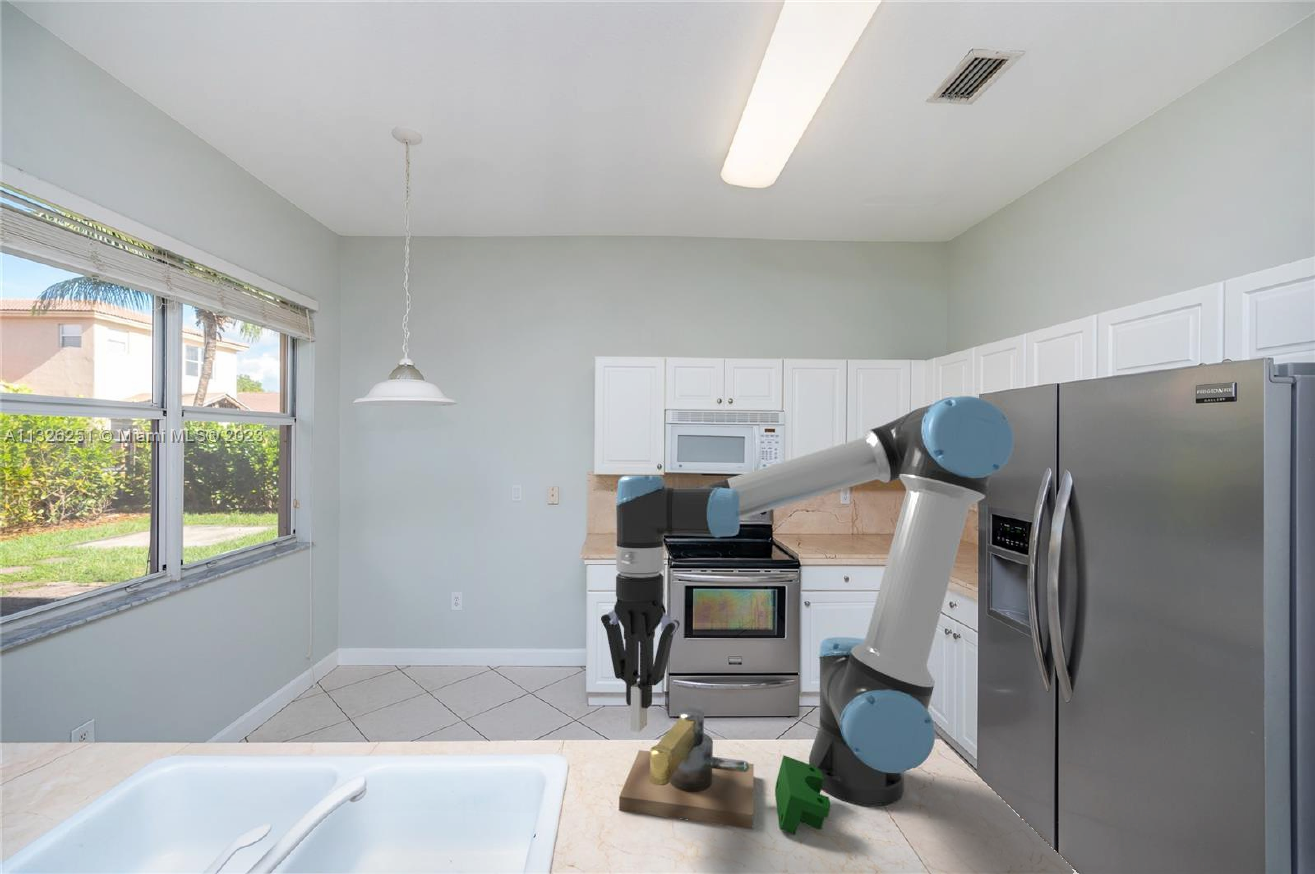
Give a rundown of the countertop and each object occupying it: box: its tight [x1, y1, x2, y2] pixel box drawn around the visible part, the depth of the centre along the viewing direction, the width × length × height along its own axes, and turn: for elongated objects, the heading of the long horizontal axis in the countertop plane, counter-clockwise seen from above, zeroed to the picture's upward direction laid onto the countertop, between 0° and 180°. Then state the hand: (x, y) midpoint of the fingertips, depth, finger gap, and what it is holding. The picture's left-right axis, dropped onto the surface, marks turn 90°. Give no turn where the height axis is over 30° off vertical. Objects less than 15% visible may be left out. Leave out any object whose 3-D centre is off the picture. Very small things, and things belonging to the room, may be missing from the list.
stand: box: [618, 749, 755, 830], centre depth 86 cm, size 20×14×2 cm
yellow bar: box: [650, 707, 705, 786], centre depth 81 cm, size 16×4×4 cm, turn 157°
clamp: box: [774, 755, 832, 836], centre depth 81 cm, size 12×6×9 cm, turn 166°
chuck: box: [670, 733, 750, 792], centre depth 86 cm, size 13×7×6 cm, turn 79°
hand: (638, 727), depth 83 cm, fingers closed
